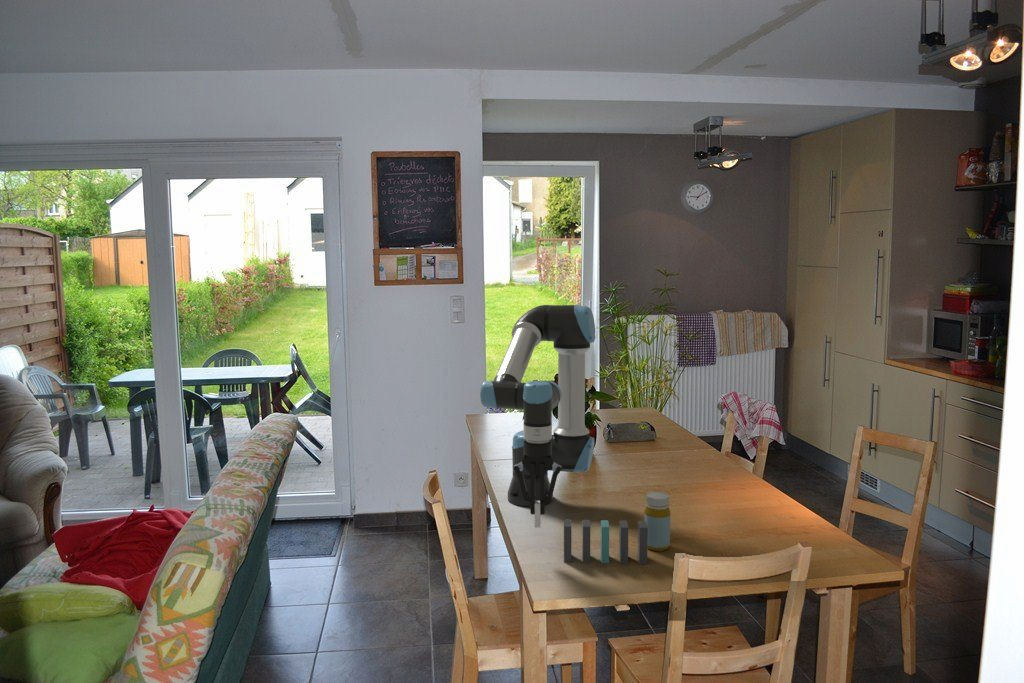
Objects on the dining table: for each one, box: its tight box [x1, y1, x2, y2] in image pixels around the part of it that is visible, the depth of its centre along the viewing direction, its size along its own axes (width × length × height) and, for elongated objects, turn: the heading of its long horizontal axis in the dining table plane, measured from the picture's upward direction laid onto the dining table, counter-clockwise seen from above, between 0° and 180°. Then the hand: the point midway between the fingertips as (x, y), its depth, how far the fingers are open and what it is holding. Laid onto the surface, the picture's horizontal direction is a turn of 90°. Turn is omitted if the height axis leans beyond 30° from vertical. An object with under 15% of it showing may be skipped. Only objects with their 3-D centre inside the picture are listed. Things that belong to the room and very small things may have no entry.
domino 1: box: [563, 519, 572, 563], centre depth 206 cm, size 2×5×10 cm, turn 176°
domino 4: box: [618, 520, 630, 564], centre depth 205 cm, size 2×5×10 cm, turn 176°
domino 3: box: [600, 519, 610, 564], centre depth 206 cm, size 2×5×10 cm, turn 176°
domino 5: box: [637, 520, 648, 565], centre depth 205 cm, size 2×5×10 cm, turn 176°
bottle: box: [644, 491, 671, 552], centre depth 213 cm, size 7×7×15 cm
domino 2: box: [581, 519, 592, 564], centre depth 206 cm, size 2×5×10 cm, turn 176°
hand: (537, 525), depth 206 cm, fingers closed
